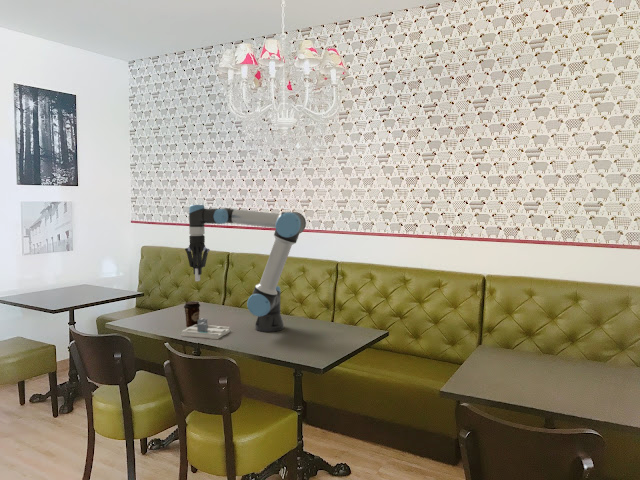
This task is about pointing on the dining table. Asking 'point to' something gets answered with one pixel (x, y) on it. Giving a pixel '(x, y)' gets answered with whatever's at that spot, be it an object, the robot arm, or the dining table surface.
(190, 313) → the coffee cup
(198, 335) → the switch bank
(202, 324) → the tab
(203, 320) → the tab
